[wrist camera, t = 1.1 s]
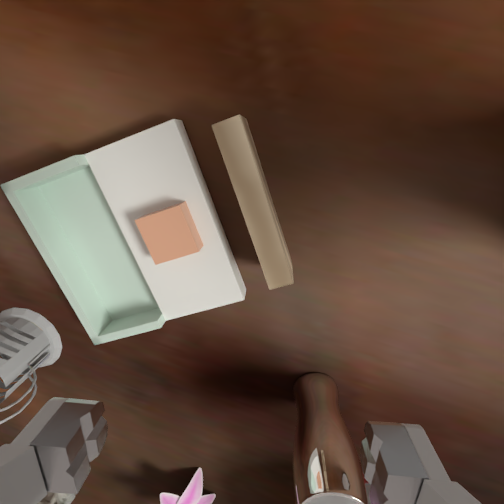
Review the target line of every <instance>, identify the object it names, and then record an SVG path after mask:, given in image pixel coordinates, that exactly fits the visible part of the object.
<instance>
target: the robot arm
mask: <svg viewBox="0 0 504 504" xmlns="http://www.w3.org/2000/svg"><path fill="white" fill-rule="evenodd" d="M104 411H105V409H104V405H103V402H100V401H91V400H81V399H72V398H59V397H54V398H52V399H50V400H49V401H48V402H47V403H46V404H45V405H44V406H43V407H42V408H41V410H40V411H39V412H38V413H37V414H36V415H35V416H34V418H33V419H32V420H31V421H30V422H29V423H28V424H27V426H26V427H25V428H24V429H23V430H22V431H21V432H20V434H19V435H18V436H17V437H16V438H15V439H14V441H13V442H12V443H11V444H4V445H3V446H1V447H0V504H37V503H38V502H40V501H41V500H42V499H43V498H44V497H45V496H46V495H47V494H48V493H47V492H51V493H68V494H78V492H79V490H80V488H81V486H82V485H83V483H84V481H85V479H86V477H87V476H88V474H89V472H90V462H91V461H92V460H93V459H95V458H96V457H97V456H99V454H100V452H101V450H102V448H103V447H104V444H105V441H106V437H107V431H108V426H107V421H106V420H105V419H104V418H103V417H102V414H103V413H104ZM364 432H365V435H366V438H365V439H364V440H363V441H362V443H361V449H360V457H361V466H362V471H363V474H364V478H365V479H366V480H367V481H368V482H369V484H370V485H371V487H370V492H369V497H370V501H371V504H481V503H480V502H479V501H478V500H477V499H475V498H474V497H473V496H472V495H471V494H470V493H469V492H467V491H466V490H465V489H464V488H463V487H462V486H461V485H460V484H458V483H457V482H452V481H451V480H450V478H449V477H448V475H447V473H446V471H445V469H444V467H443V465H442V463H441V461H440V460H439V458H438V456H437V454H436V452H435V450H434V448H433V446H432V444H431V442H430V441H429V439H428V437H427V435H426V433H425V431H424V429H423V428H422V427H421V426H420V425H416V424H400V423H389V422H373V421H367V422H366V424H365V428H364Z"/></svg>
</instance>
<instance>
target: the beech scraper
mask: <svg viewBox="0 0 504 504" xmlns="http://www.w3.org/2000/svg"><path fill="white" fill-rule="evenodd" d="M211 126H212V129H213V131H214V134H215V137H216V140H217V143H218V146H219V148H220V151H221V154H222V157H223V160H224V163H225V165H226V168H227V171H228V174H229V177H230V179H231V182H232V185H233V188H234V191H235V194H236V196H237V199H238V202H239V205H240V208H241V211H242V213H243V216H244V219H245V222H246V225H247V228H248V230H249V233H250V236H251V239H252V242H253V245H254V247H255V250H256V253H257V256H258V259H259V261H260V264H261V267H262V270H263V273H264V276H265V278H266V281H267V284H268V287H269V290H271V289H275V288H279V287H282V286H286V285H290V284H294V279H293V269H292V261H291V257H290V254H289V251H288V248H287V245H286V242H285V239H284V235H283V232H282V229H281V226H280V223H279V220H278V217H277V213H276V210H275V207H274V204H273V201H272V198H271V195H270V191H269V188H268V185H267V182H266V179H265V176H264V173H263V169H262V166H261V163H260V160H259V157H258V154H257V150H256V147H255V144H254V141H253V138H252V135H251V132H250V128H249V125H248V122H247V119H246V118H245V117H243V116H241V115H240V114H239V115H236V116H234V117H231V118H228V119H226V120H223V121H221V122H218V123H215V124H213V125H211Z"/></svg>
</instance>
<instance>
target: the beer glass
mask: <svg viewBox="0 0 504 504" xmlns="http://www.w3.org/2000/svg"><path fill="white" fill-rule="evenodd" d="M293 396H294V400H295V404H296V408H297V423H296V430H295V437H294V445H293V482H294V492H295V500H296V504H368V499H367V493H366V487H365V481H364V477H363V472H362V468H361V464H360V460H359V457H358V453H357V451H356V448H355V446H354V443H353V440H352V438H351V436H350V433H349V431H348V429H347V427H346V424H345V422H344V420H343V418H342V415H341V412H340V408H339V390H338V386H337V384H336V382H335V381H334V380H333V379H332V378H331V377H329V376H327V375H325V374H321V373H309V374H306V375H303V376H301V377H300V378H299V379H298V380H297V381H296V382H295V384H294V386H293Z"/></svg>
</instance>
